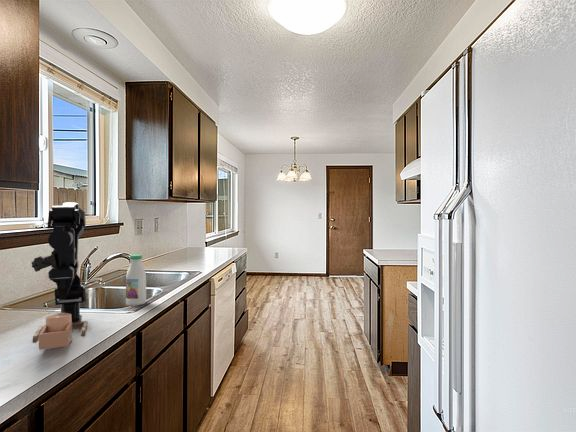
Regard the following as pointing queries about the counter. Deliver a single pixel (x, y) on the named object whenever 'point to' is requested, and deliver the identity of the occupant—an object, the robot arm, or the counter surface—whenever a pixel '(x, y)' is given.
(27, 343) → the counter surface
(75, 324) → the cradle
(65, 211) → the robot arm
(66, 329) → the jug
